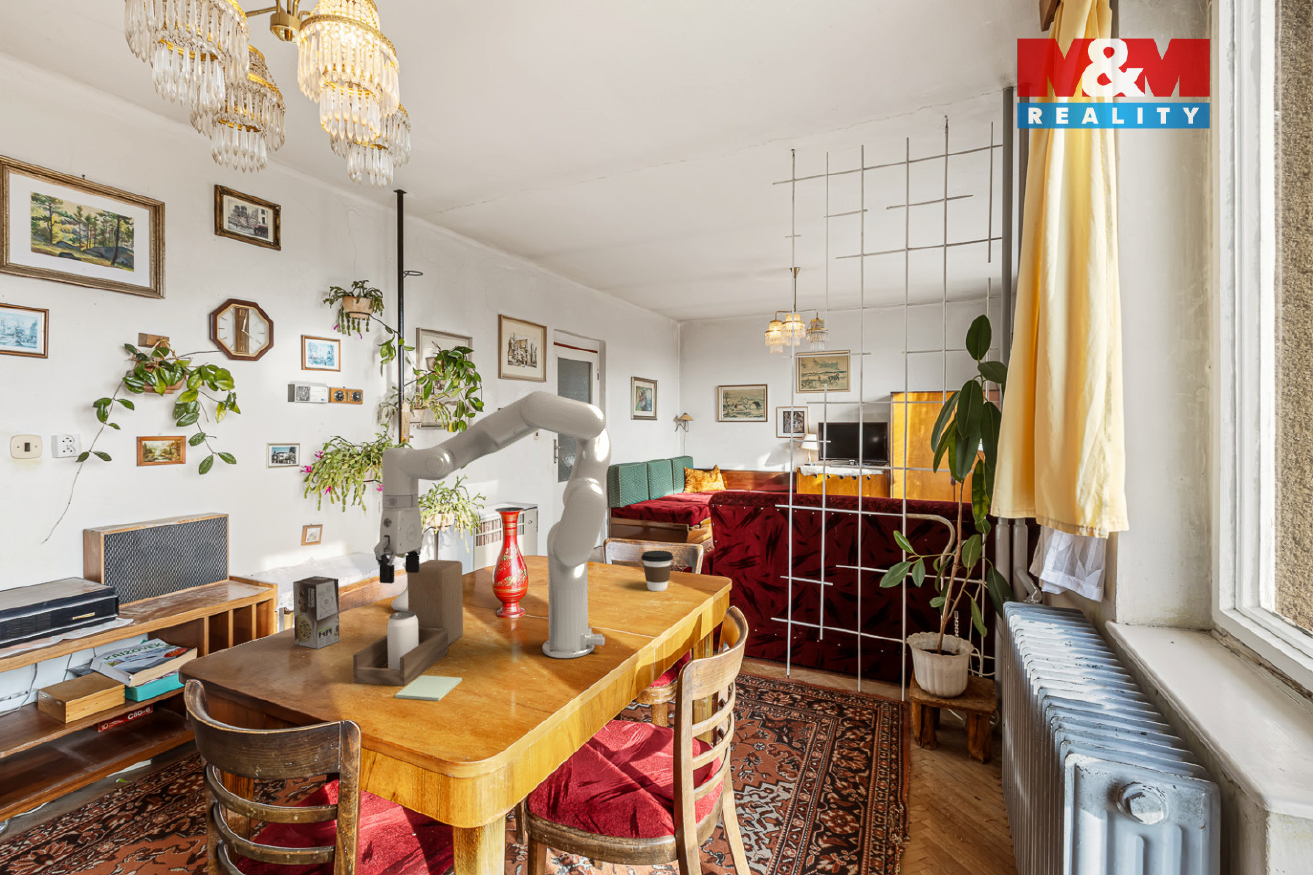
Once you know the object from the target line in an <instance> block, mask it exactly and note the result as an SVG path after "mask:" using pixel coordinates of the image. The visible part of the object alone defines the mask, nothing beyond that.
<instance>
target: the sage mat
mask: <svg viewBox="0 0 1313 875" xmlns="http://www.w3.org/2000/svg"><path fill="white" fill-rule="evenodd" d="M462 681H463V677H454V676H439V675H438V676H437V675H426V674H423V675H422V674H420V675H419V676H417V677H416V678H415V679H413V680H412V681H411V682H409V683H408V684H407V686H406V685H405V686H404V688H402V689H401V690H399V691H397V692H396V694H395V695H394V696H395V699H410V700H420V701H421V700H422V701H423V700H425V701H434V702H436V701H437V702H439V701H440V700H442V699H443V698H444V697H445V696H446V695H447V694H448V693H450V692H451V691H452V690H453V689H454V688H456V687H457V686H458V685H459V684H460V683H461V682H462Z"/></svg>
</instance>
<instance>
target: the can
mask: <svg viewBox="0 0 1313 875" xmlns="http://www.w3.org/2000/svg"><path fill="white" fill-rule="evenodd" d="M386 628H387V629H386V630H387V634H386V636H387V639H388V663H387V667H388V668H387V669H400V657H402V656H403V655H405V654H406V653H408V652H409V651H411V650H412V649H414V648H415V647H417V646H418V645H419V640H418V619H417V617H416V613H415V612H412V611H398V612H394V613H391V614H390V615H389V620H388V621H387V627H386Z"/></svg>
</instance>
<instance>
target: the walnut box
mask: <svg viewBox="0 0 1313 875" xmlns="http://www.w3.org/2000/svg"><path fill="white" fill-rule="evenodd" d="M418 640H419V645H418V646H417V647H415V648H414V649H412V650H411V651H409V652H408V653H406V654H405V655H403V656H402V657H400V669H388V668H385V667H384V666H386V665H388V639H387V635H385V636H383V637H381V638H380V639H378V640H376V641H373V643H371V644H369V645H367V646H365V647H364V648H362V649H360V650H359V651H357V652H355V653H353V654H352V669H353V670H352V672H353V673H352V674H353V676H352V678H353V679H352V682H353V683H358V684H368V685H369V684H372V685H373V684H374V685H382V686H383V685H386V686H398V687H399V686H401V687H406V685H409V684H410V683H411V682H413V681H414V680H415V679H417V678H418V677H419V676H421V675H422V674H423V673H424V672H425V671H427V670H428V669H430V668H431V667H433V664H434V663H435V664H436V663H437V662H439V661H440V660H442V659H444V657H446V656H447V655H448V654H449V645H448V629H440V628H420V627H418ZM446 654H447V655H446ZM445 655H446V656H445ZM385 664H386V665H385ZM435 664H434V665H435ZM382 667H384V668H382Z"/></svg>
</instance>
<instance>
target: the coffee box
mask: <svg viewBox="0 0 1313 875" xmlns="http://www.w3.org/2000/svg"><path fill="white" fill-rule="evenodd" d="M292 583H293V584H292V588H293V590H292V591H293V614H294V615H293V619H294V620H293V624H294V645H296V646H303V647H308V648H312V649H316V650H318V649H319V650H320V649H321V648H324V647H327V646H330V645H333V644H336V643H339V642H338V641H340V605H339V604H340V602H339V600H340V598H339V589H340V588H339V578H332V577H325V576H320V575H319V576H318V575H314V576H311V577H310V576H309V577H306V578H302V579H300V580H295V581H293V582H292Z"/></svg>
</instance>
